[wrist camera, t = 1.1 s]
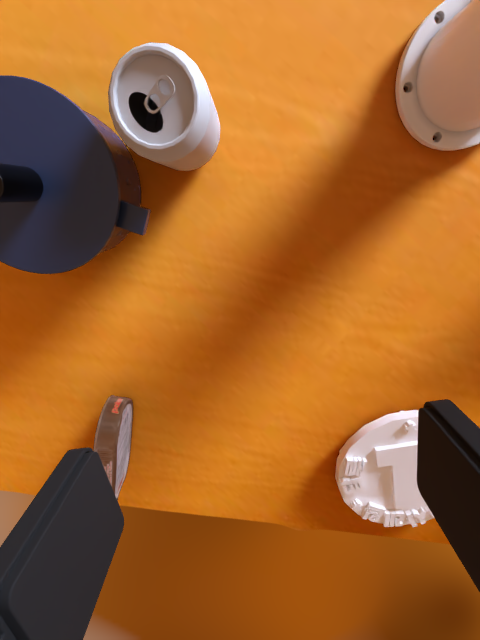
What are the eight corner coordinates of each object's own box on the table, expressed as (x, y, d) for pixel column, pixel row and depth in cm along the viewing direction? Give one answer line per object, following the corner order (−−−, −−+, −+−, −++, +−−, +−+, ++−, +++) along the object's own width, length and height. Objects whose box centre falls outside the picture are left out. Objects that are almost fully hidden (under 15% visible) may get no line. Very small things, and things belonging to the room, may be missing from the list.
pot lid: (-53, 48, 26) (-141, 5, 20) (140, 122, 27) (111, 102, 21) (-57, 239, 31) (-127, 250, 25) (105, 292, 32) (75, 313, 27)
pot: (-16, 75, 32) (-90, 41, 25) (180, 149, 34) (163, 137, 27) (-24, 221, 37) (-87, 227, 30) (147, 278, 39) (126, 296, 32)
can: (132, 127, 33) (75, 93, 22) (184, 69, 32) (150, -1, 20) (184, 187, 35) (155, 183, 24) (236, 135, 33) (230, 104, 22)
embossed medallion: (494, 416, 45) (510, 431, 42) (443, 518, 52) (454, 536, 49) (352, 398, 44) (359, 411, 42) (320, 503, 51) (324, 520, 49)
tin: (116, 382, 44) (87, 423, 36) (139, 386, 44) (116, 427, 36) (112, 467, 50) (87, 518, 42) (133, 470, 50) (112, 521, 42)
